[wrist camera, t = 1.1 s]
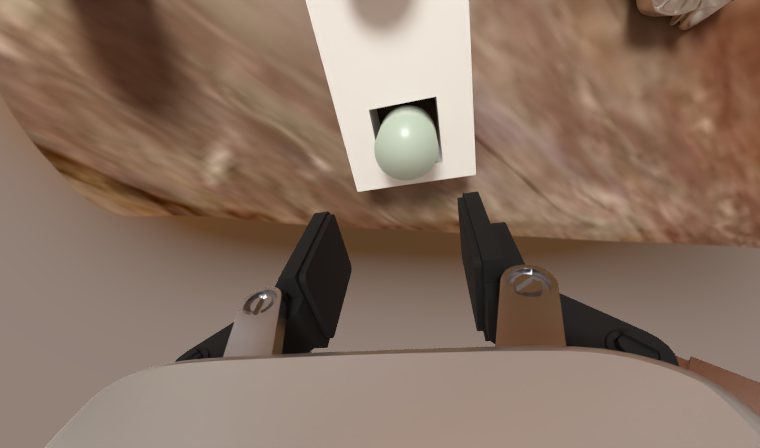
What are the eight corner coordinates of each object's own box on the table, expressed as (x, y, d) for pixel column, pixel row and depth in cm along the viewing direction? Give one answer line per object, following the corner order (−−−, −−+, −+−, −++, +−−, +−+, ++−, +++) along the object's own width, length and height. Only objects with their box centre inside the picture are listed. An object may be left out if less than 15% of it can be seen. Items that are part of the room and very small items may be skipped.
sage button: (432, 99, 22) (434, 111, 19) (438, 155, 25) (441, 175, 21) (374, 110, 23) (367, 124, 20) (385, 164, 25) (381, 184, 22)
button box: (451, -170, 17) (459, -218, 14) (468, 157, 28) (475, 174, 24) (292, -113, 19) (266, -143, 16) (364, 173, 30) (357, 191, 26)
